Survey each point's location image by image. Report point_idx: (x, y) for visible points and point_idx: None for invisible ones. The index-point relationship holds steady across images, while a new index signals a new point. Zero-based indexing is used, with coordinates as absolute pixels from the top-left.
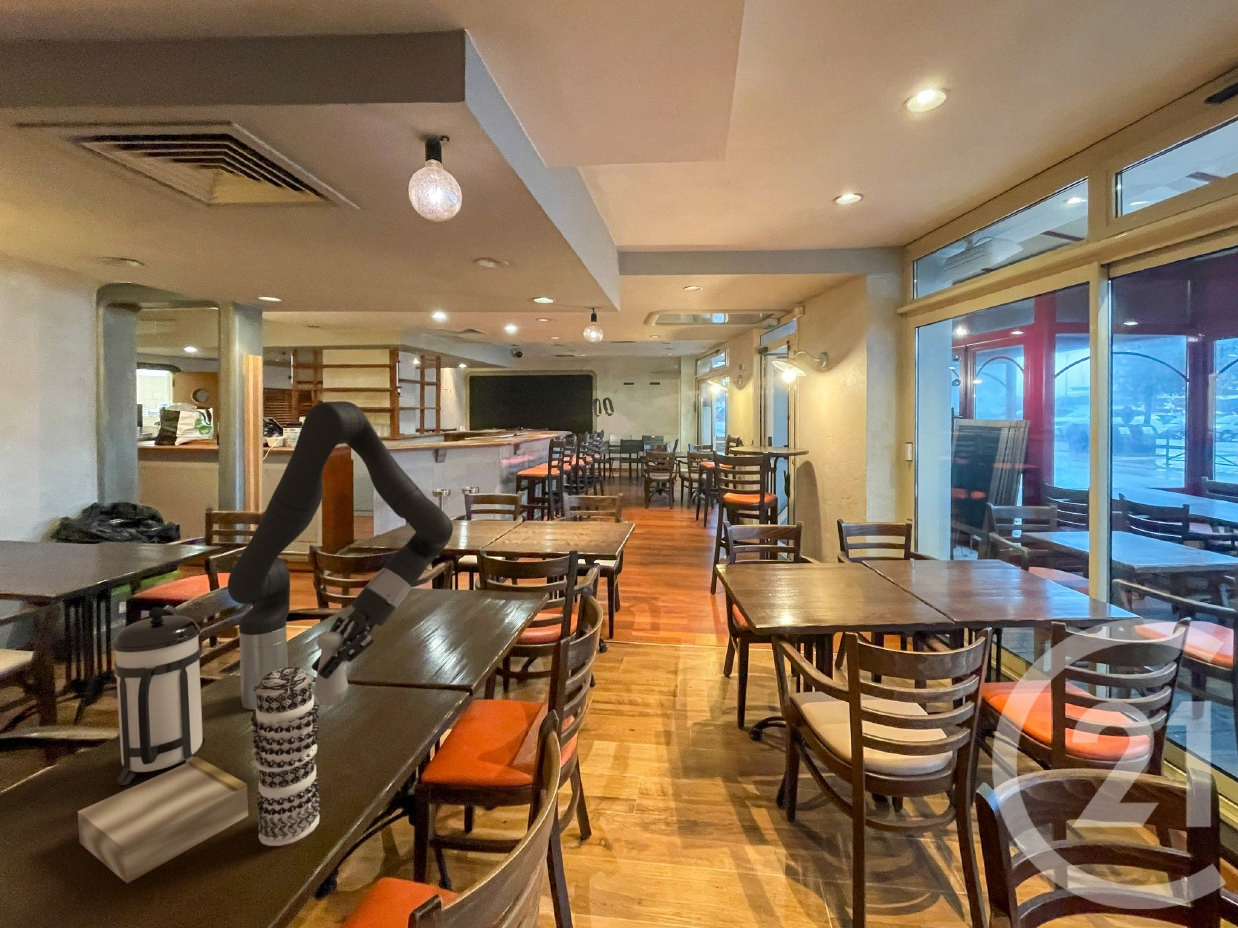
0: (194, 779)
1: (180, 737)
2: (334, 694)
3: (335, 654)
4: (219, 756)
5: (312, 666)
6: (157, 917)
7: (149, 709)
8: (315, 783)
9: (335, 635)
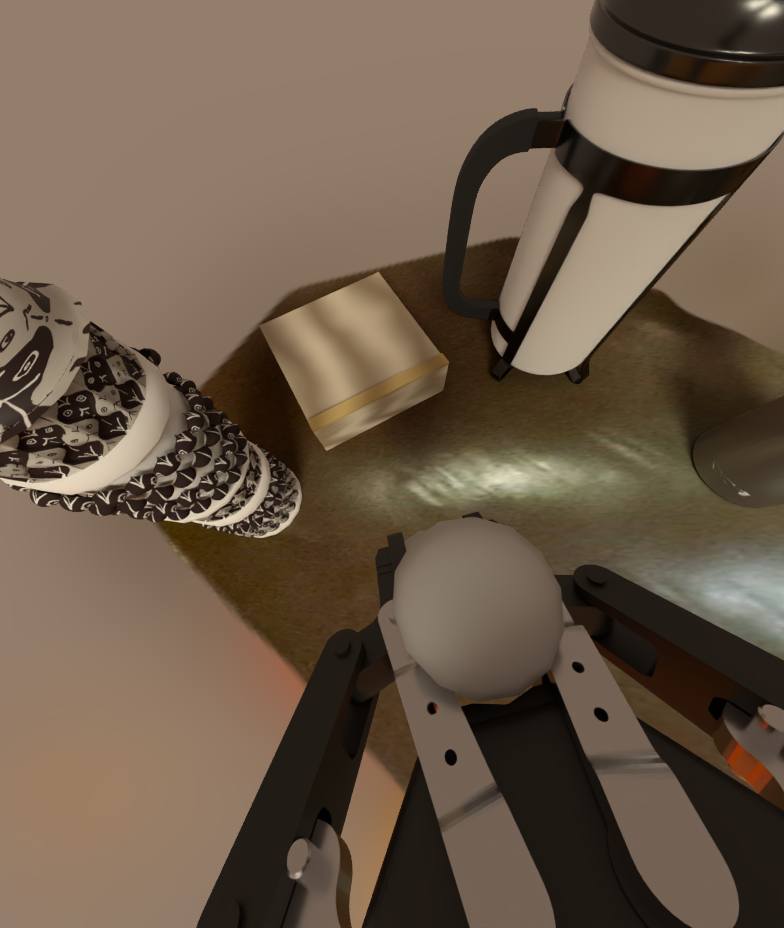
0: (380, 368)
1: (512, 330)
2: None
3: (385, 612)
4: (520, 407)
5: (469, 514)
6: (203, 385)
7: (523, 236)
8: (202, 524)
9: (437, 644)
